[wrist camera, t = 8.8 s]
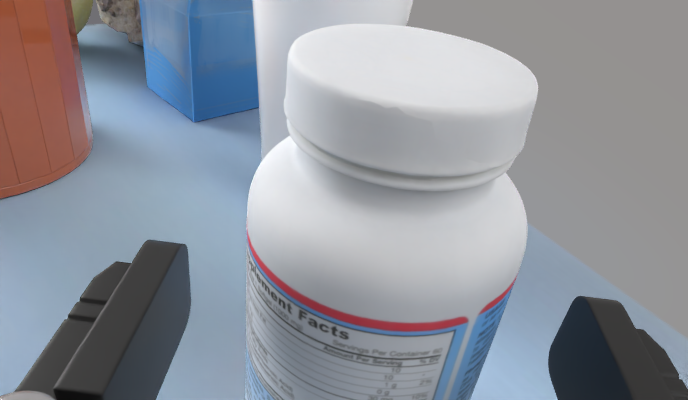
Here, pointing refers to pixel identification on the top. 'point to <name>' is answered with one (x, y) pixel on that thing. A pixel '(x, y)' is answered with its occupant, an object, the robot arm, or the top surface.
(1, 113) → the orange flower pot
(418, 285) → the pill bottle
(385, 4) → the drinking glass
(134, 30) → the rock
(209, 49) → the perfume bottle
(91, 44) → the top surface
